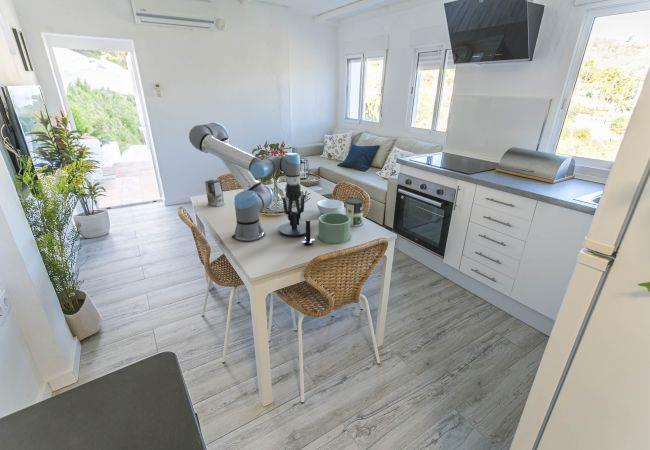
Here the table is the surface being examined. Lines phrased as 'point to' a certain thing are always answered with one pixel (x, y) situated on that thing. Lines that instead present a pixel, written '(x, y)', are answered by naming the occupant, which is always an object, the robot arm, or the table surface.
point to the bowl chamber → (334, 227)
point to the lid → (293, 227)
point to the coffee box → (214, 192)
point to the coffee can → (354, 210)
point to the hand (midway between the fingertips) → (294, 224)
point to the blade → (307, 234)
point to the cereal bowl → (330, 206)
